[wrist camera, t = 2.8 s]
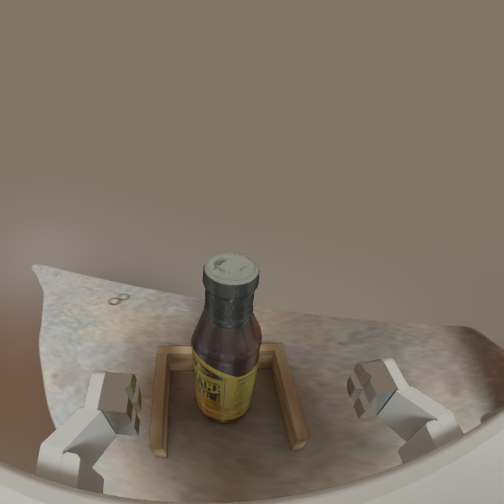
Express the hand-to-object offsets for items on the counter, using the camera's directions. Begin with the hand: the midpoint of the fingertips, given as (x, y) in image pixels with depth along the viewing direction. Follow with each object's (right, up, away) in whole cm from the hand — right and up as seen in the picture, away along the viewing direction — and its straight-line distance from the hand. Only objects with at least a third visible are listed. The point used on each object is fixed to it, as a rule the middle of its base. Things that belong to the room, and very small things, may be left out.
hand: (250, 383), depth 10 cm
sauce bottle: (-3, -14, +22) cm, 26 cm away
